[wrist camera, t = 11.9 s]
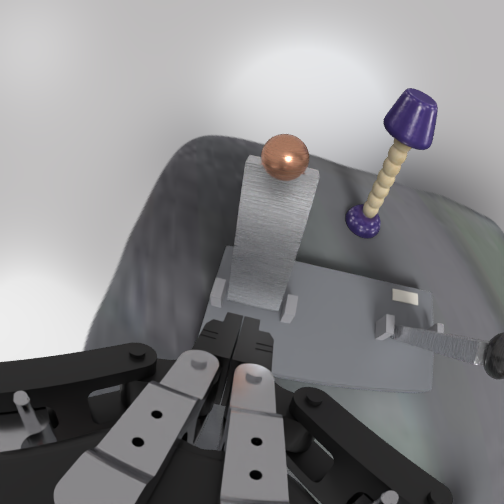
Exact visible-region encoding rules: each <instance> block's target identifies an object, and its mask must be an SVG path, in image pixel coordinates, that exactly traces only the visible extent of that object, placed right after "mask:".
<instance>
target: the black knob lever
mask: <svg viewBox="0 0 504 504" xmlns="http://www.w3.org/2000/svg"><path fill="white" fill-rule="evenodd" d="M390 338H391V339H394V340H397V341H400V342H403V343H406V344H409V345H413V346H416V347H419V348H422V349H425V350H428V351H431V352H434V353H437V354H441V355H444V356H447V357H450V358H454V359H457V360H460V361H463V362H467V363H470V364H474V365H483V366H484V369H485V371H486V373H487V374H488V375H489V376H490V377H492V378H494V379H504V333H500V334H498V335H496V336H494V337H493V338H492V339H491V340H490V341H485V340H479V339H473V338H468V337H462V336H457V335H452V334H446V333H441V332H436V331H431V330H425V329H418V328H412V327H406V326H400V325H394V334H393V335H391V336H390Z"/></svg>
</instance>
